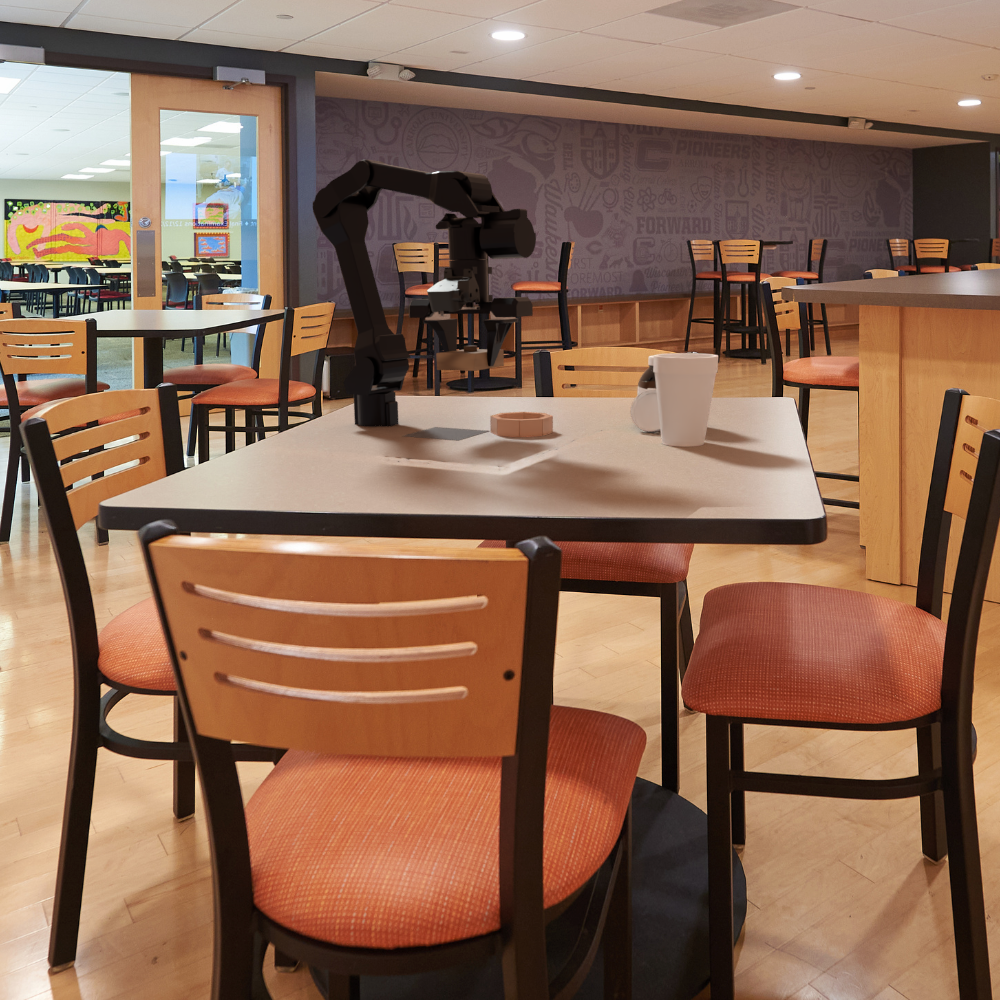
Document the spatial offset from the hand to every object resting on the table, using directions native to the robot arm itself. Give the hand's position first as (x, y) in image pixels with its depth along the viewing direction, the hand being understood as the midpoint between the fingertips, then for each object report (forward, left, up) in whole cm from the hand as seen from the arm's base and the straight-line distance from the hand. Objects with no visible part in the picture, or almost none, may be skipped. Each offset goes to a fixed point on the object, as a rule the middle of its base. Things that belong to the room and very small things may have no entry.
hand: (471, 365), depth 150 cm
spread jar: (+23, +23, -12) cm, 35 cm away
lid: (0, 0, 0) cm, 0 cm away
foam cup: (+30, +10, -12) cm, 34 cm away
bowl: (+6, +4, -11) cm, 14 cm away
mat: (-4, -2, -11) cm, 12 cm away
